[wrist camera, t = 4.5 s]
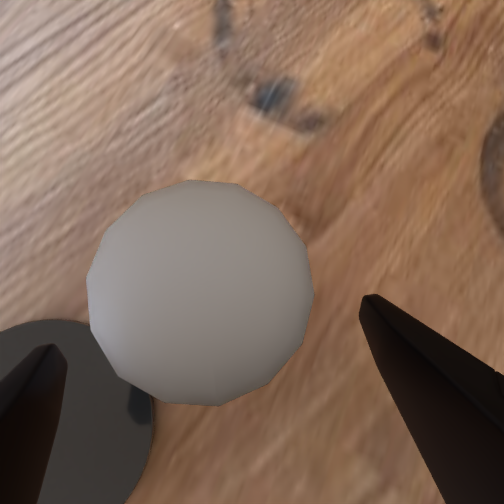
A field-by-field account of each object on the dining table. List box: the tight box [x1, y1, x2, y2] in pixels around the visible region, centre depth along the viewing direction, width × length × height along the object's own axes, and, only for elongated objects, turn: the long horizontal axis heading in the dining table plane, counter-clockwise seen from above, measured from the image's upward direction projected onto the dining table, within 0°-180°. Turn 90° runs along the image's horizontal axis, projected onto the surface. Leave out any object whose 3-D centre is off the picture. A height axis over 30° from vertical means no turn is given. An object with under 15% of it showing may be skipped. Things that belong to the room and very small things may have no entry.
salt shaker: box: [86, 180, 314, 406], centre depth 12 cm, size 6×6×13 cm
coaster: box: [0, 319, 155, 504], centre depth 16 cm, size 11×11×1 cm
